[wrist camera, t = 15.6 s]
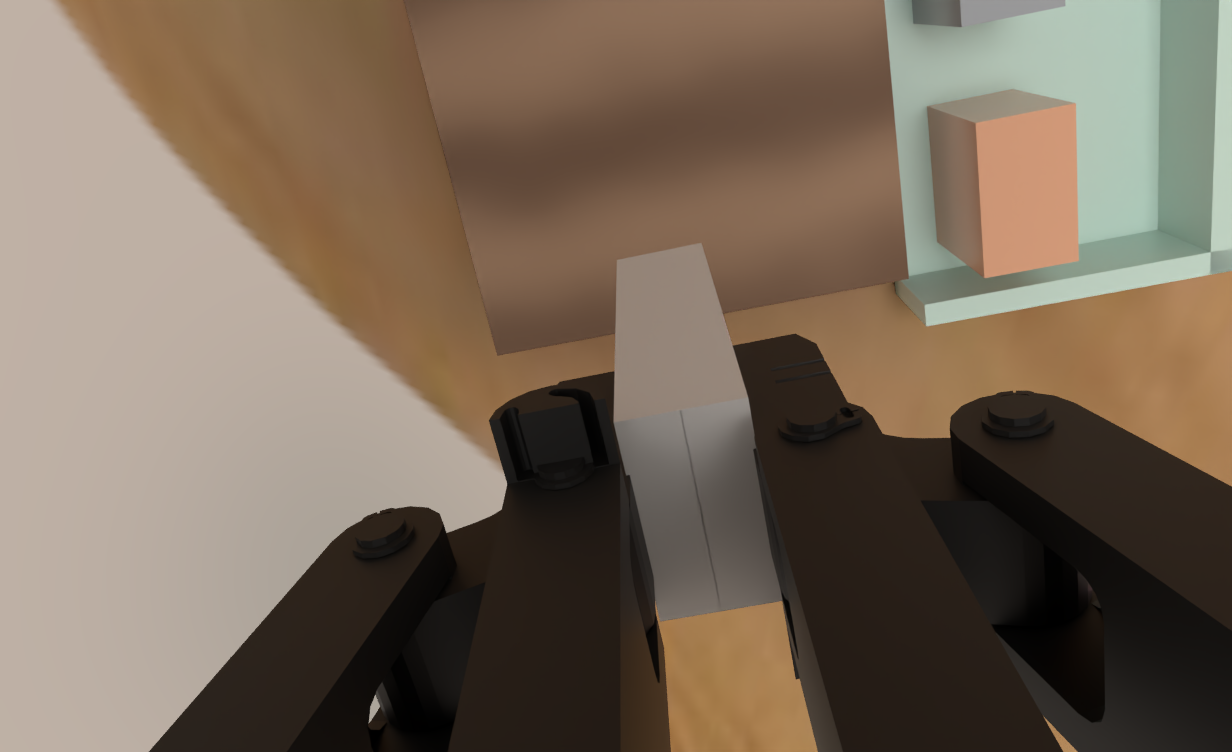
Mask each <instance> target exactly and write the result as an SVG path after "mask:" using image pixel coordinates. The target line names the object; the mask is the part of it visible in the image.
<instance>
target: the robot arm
mask: <svg viewBox="0 0 1232 752" xmlns="http://www.w3.org/2000/svg"><path fill="white" fill-rule="evenodd" d="M489 422H490V426H491V429H492V433H493V436H494V439H495V443H496V446H497V450H498V453H499V457H500V460H501V463H502V467H503V470H504V474H505V477H506V481H507V489H506V493H505V498H504V503H503V507H502V510H501V511H499V512H497V513H496V514H494V515H492V516H490V517H488V518H486V519H483V520H481V521H479V522H476V523H473V524H471V525H468V526H465V527H462V528H460V529H457V530H454V531H452V532H449V533H446V531H445V527H444V524H443V522H442V519H441V516H440V514H439V513H437V512H435V511H433V510H431V509H429V508H425V507H411V506H410V507H404V508H397V509H394V508H390V509H386V510H382V511H380V513H379V514H377V513H374V514H371V515H368V516H366V517H365V518H363V520H362V521H360V522H358V523H356V524H355V525H353V526H351V527H349V528H347V529H346V530H345V531H344V532H343V533H341V534H340V535H339V536H338V537H337V538H336V539H334V541H332V542H331V543H330V545H329V546H328V547H327V548H326V549H325V550H324V551H323V553H322V554H321V555H320V556H319V557H318V558H317V559H316V561H315V562H314V563H313V564H312V565H311V566H310V568H309V569H308V570H307V571H306V572H305V573H304V574H303V576H302V577H301V578H300V579H299V580H298V581H297V582H296V584H295V585H294V586H293V587H292V588H291V589H290V590H289V592H288V593H287V594H286V595H285V596H284V598H283V599H282V600H281V601H280V602H279V603H278V604H277V605H276V607H275V608H274V609H273V610H272V611H271V612H270V614H269V615H268V616H267V617H266V618H265V619H264V620H263V621H262V623H261V624H260V625H259V626H258V627H257V628H256V629H255V631H254V632H253V633H252V634H251V635H250V636H249V637H248V639H247V640H246V641H245V642H244V643H243V644H242V645H241V647H240V648H239V649H238V650H237V651H236V652H235V654H234V655H233V656H232V657H231V658H230V659H229V660H228V662H227V663H226V664H225V665H224V666H223V667H222V668H221V670H220V671H219V672H218V673H217V674H216V675H215V676H214V678H213V679H212V680H211V681H210V682H209V683H208V684H207V686H206V687H205V688H204V689H203V690H202V691H201V693H200V694H199V695H198V696H197V697H196V698H195V699H194V701H193V702H192V703H191V704H190V705H189V706H188V708H187V709H186V710H185V711H184V712H183V713H182V715H180V717H179V718H178V719H177V720H176V721H175V722H174V724H173V725H172V726H171V727H170V728H169V729H168V730H167V732H166V733H165V734H164V735H163V736H162V737H161V738H160V740H159V741H158V742H157V743H156V744H155V745H154V746H153V748H152V749H151V750H150V751H149V752H671V747H670V732H669V717H668V702H667V687H666V672H665V657H664V646H663V642H662V638H661V634H660V629H659V625H658V621H657V617H656V610H655V601H656V605H657V609H658V613H659V618H660V621H666V620H672V619H678V618H683V617H689V616H695V615H701V614H707V613H713V612H719V611H725V610H731V609H737V608H743V607H749V606H755V605H760V604H766V603H772V602H778V601H782V602H783V607H784V613H785V619H786V625H787V631H788V636H789V642H790V648H791V654H792V660H793V665H794V671H795V677H796V679H800V681H801V685H802V689H803V693H804V697H805V701H806V705H807V709H808V713H809V717H810V721H811V725H812V729H813V733H814V737H815V741H816V745H817V749H818V752H1063V751H1062V749H1061V747H1060V745H1059V743H1058V742H1057V740H1056V738H1055V736H1054V735H1053V733H1052V731H1051V729H1050V728H1049V726H1048V724H1047V722H1046V721H1045V719H1044V717H1045V718H1046V719H1047V720H1048V721H1049V722H1050V723H1051V724H1052V725H1053V726H1054V727H1055V728H1056V730H1057V731H1058V732H1059V733H1060V734H1061V735H1062V736H1063V737H1064V738H1065V739H1066V740H1067V741H1068V742H1069V743H1070V744H1071V745H1072V746H1073V747H1074V748H1075V749H1076V750H1077V751H1078V752H1232V487H1231V486H1229V485H1228V484H1226V483H1224V482H1222V481H1220V480H1218V479H1216V478H1214V477H1213V476H1211V475H1209V474H1207V473H1205V472H1203V471H1201V470H1199V469H1198V468H1196V467H1194V466H1192V465H1190V464H1188V463H1186V462H1184V461H1183V460H1181V459H1179V458H1177V457H1175V456H1173V455H1171V454H1169V453H1168V452H1166V451H1164V450H1162V449H1160V448H1158V447H1156V446H1154V445H1153V444H1151V443H1149V442H1147V441H1145V440H1143V439H1141V438H1139V437H1138V436H1136V435H1134V434H1132V433H1130V432H1128V431H1126V430H1124V429H1123V428H1121V427H1119V426H1117V425H1115V424H1113V423H1111V422H1109V421H1108V420H1106V419H1104V418H1102V417H1100V416H1098V415H1096V414H1094V413H1093V412H1091V411H1089V410H1087V409H1085V408H1083V407H1081V406H1079V405H1078V404H1076V403H1074V402H1071V401H1068V400H1065V399H1062V398H1060V397H1057V396H1053V395H1046V394H1038V393H1034V392H1031V391H1016V393H1013V391H1007V392H1000V393H997V394H996V395H992V396H987V397H982V398H979V399H977V400H974V401H972V402H970V403H967V404H965V405H963V406H961V407H960V408H959V409H958V410H957V411H956V412H955V413H954V414H953V415H952V416H951V422H950V436H951V438H902V437H896V436H890V435H885V434H882V432H881V430H880V429H879V427H878V425H877V423H876V422H875V420H874V418H873V416H872V415H871V414H870V413H868V412H867V411H866V410H865V409H864V408H863V407H860V406H857V405H854V404H851V403H848V402H847V400H846V399H845V397H844V395H843V393H842V391H841V389H840V387H839V386H838V384H837V382H836V380H835V378H834V376H833V374H832V373H831V371H830V369H829V367H828V365H827V363H826V361H824V357H823V356H822V354H821V352H820V350H819V348H818V346H817V344H816V343H814V342H811V341H809V340H807V339H805V338H803V337H801V336H799V335H797V334H791V335H786V336H781V337H776V338H771V339H765V340H760V341H755V342H750V343H745V344H740V345H734V346H732V342H731V339H730V336H729V332H728V329H727V326H726V323H725V319H724V316H723V313H722V309H721V306H720V303H719V299H718V296H717V293H716V289H715V286H714V283H713V280H712V276H711V273H710V270H709V266H708V263H707V260H706V256H705V253H704V250H703V247H702V243H698V244H693V245H688V246H683V247H678V248H674V249H669V250H664V251H659V252H654V253H649V254H644V255H639V256H634V257H629V258H624V259H619V260H617V279H616V328H615V371H614V372H608V373H603V374H598V375H593V376H588V377H582V378H577V379H572V380H567V381H562V382H559V383H558V384H557V385H553V386H548V387H544V388H541V389H537V390H533V391H530V392H527V393H525V394H523V395H521V396H518V397H516V398H514V399H512V400H510V401H508V402H507V403H505V404H504V405H503V406H501V407H500V408H498V409H497V410H496V411H495V412H494V414H493V415H492V417H491V418H490V420H489ZM375 694H376V697H377V699H378V702H379V704H380V708H379V709H378V711H377V713H376V714H375V716H374V717H373V719H372V721H371V722H370V723H369V724H368V722H369V714H370V706H371V703H372V701H373V699H374V696H375ZM1043 716H1044V717H1043Z"/></svg>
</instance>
